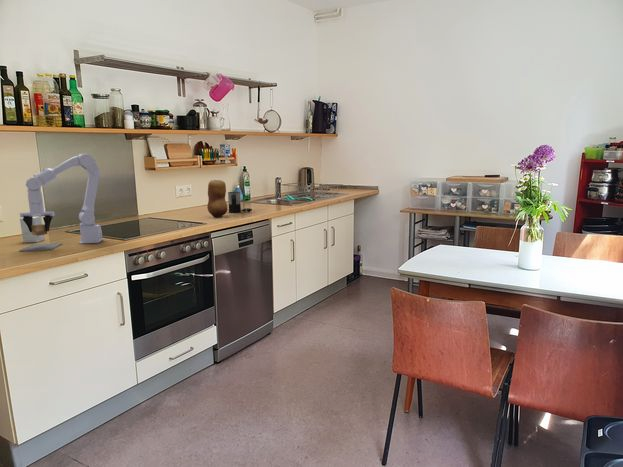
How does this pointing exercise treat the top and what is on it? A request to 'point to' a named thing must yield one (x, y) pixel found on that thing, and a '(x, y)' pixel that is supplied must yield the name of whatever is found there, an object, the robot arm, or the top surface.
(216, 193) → the butternut squash
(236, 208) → the milk frother
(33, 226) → the oak cube
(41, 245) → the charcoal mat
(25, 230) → the supplement box
